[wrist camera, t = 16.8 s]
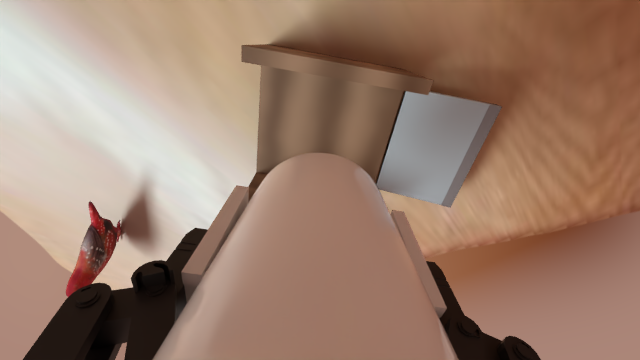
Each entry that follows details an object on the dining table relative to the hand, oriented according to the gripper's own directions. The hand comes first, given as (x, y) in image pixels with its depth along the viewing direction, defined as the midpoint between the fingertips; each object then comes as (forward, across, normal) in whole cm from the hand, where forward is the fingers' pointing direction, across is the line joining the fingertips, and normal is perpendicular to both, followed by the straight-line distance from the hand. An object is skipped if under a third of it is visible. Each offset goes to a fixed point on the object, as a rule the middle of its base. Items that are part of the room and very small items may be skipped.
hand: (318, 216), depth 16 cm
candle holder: (+1, 0, 0) cm, 1 cm away
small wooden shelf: (+19, 0, 0) cm, 19 cm away
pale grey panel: (+16, +8, 0) cm, 18 cm away
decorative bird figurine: (+20, -31, -22) cm, 43 cm away
